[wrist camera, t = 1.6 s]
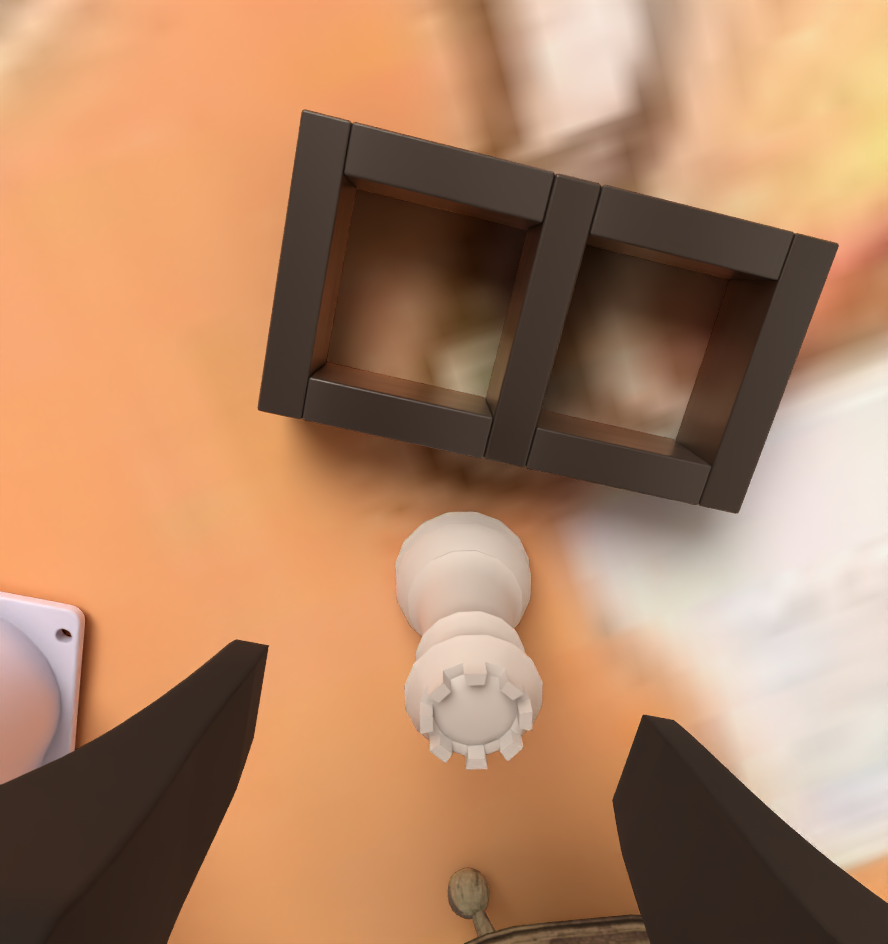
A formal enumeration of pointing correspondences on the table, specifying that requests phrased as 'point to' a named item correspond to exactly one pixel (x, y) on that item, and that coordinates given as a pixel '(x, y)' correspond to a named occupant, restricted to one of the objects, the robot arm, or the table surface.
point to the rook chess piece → (468, 636)
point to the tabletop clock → (575, 940)
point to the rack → (540, 315)
